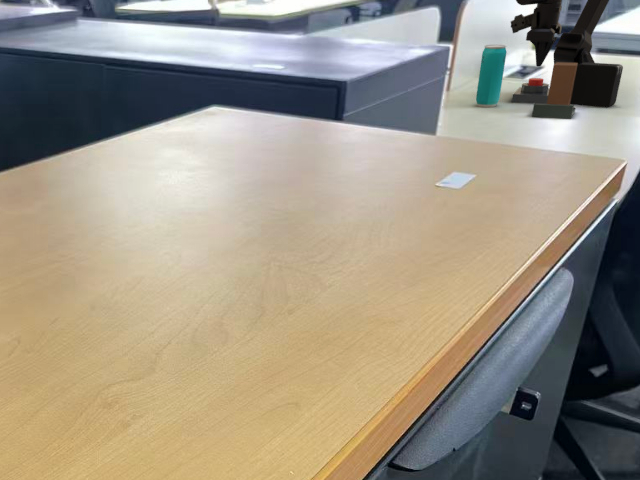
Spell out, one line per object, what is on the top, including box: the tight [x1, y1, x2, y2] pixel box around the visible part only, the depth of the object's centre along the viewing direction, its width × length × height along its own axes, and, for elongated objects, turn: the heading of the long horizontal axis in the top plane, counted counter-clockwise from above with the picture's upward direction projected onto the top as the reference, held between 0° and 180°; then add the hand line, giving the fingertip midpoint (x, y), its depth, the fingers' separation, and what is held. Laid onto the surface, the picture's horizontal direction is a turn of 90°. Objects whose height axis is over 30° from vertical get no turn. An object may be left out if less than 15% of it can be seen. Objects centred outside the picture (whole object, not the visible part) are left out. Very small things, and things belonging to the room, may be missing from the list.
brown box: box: [547, 62, 578, 105], centre depth 217 cm, size 5×5×11 cm
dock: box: [531, 103, 576, 120], centre depth 213 cm, size 8×9×3 cm
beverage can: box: [475, 44, 507, 108], centre depth 224 cm, size 6×6×15 cm
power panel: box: [511, 82, 550, 104], centre depth 232 cm, size 12×9×4 cm
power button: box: [527, 77, 545, 86], centre depth 231 cm, size 4×4×2 cm
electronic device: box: [570, 62, 624, 108], centre depth 221 cm, size 4×10×10 cm, turn 44°
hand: (538, 66), depth 229 cm, fingers closed
